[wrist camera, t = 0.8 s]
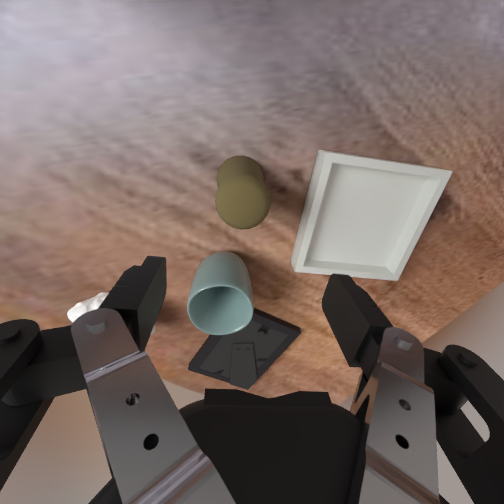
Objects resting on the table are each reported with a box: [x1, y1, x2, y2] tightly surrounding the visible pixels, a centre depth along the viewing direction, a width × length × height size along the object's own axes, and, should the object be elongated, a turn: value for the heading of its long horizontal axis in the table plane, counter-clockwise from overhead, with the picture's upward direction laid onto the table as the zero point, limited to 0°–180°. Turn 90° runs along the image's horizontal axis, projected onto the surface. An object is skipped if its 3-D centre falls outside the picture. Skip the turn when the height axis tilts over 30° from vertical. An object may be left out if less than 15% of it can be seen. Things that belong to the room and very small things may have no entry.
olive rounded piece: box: [215, 156, 271, 229], centre depth 26 cm, size 6×6×11 cm
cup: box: [187, 251, 254, 335], centre depth 33 cm, size 8×8×10 cm
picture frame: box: [188, 308, 301, 390], centre depth 45 cm, size 13×2×18 cm
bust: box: [67, 292, 156, 335], centre depth 35 cm, size 12×8×11 cm
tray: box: [291, 149, 453, 281], centre depth 33 cm, size 16×16×3 cm
